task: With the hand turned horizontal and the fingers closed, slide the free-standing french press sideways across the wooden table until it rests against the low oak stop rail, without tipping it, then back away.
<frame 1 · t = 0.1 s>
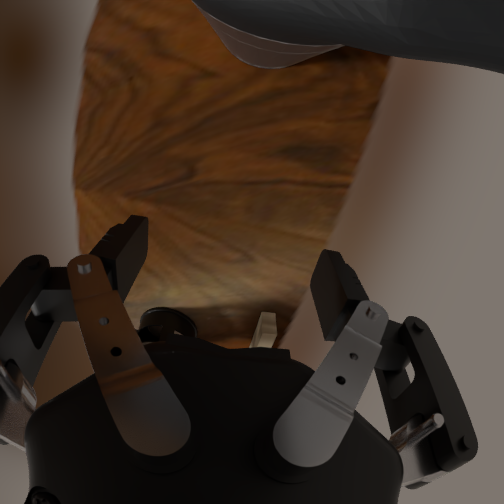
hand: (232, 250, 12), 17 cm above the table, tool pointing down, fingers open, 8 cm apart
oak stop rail: (258, 340, 43), on the table
french press: (165, 325, 42), on the table
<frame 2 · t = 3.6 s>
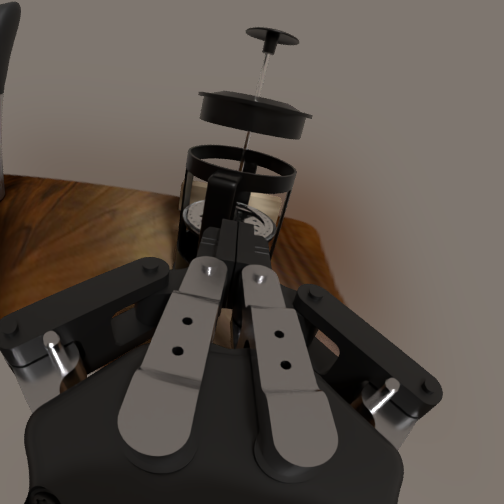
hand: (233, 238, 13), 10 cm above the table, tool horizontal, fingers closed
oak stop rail: (227, 215, 40), on the table
french press: (217, 280, 27), on the table
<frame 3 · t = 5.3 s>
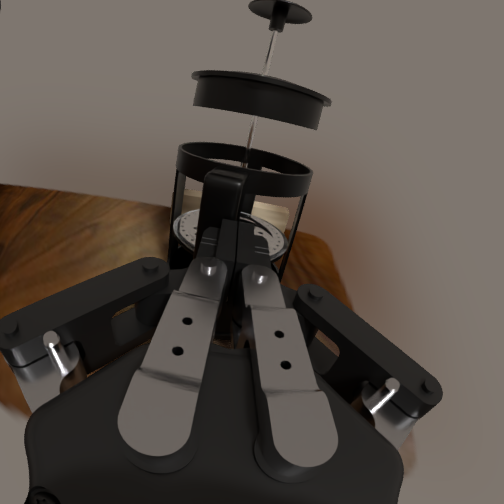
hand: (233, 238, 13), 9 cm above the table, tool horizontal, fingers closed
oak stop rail: (225, 229, 35), on the table
french press: (216, 304, 23), on the table, touching gripper
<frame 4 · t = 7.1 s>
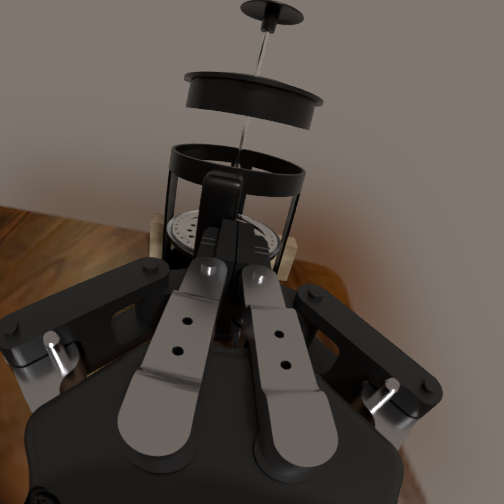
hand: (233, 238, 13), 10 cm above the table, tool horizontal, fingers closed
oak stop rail: (218, 264, 28), on the table
french press: (211, 306, 23), on the table, touching gripper
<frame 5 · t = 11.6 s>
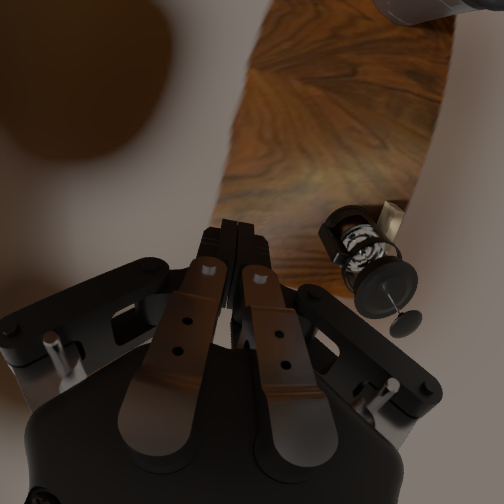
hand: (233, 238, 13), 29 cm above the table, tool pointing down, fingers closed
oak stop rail: (375, 237, 46), on the table
french press: (345, 229, 46), on the table
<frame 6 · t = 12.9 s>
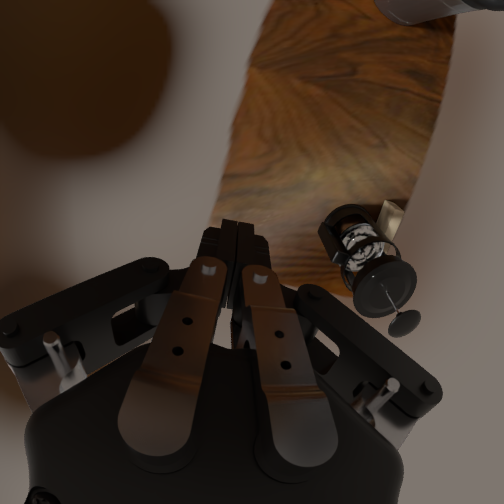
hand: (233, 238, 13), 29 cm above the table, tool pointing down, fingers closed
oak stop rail: (375, 236, 46), on the table
french press: (344, 228, 46), on the table
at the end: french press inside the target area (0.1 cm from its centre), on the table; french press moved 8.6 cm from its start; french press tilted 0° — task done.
